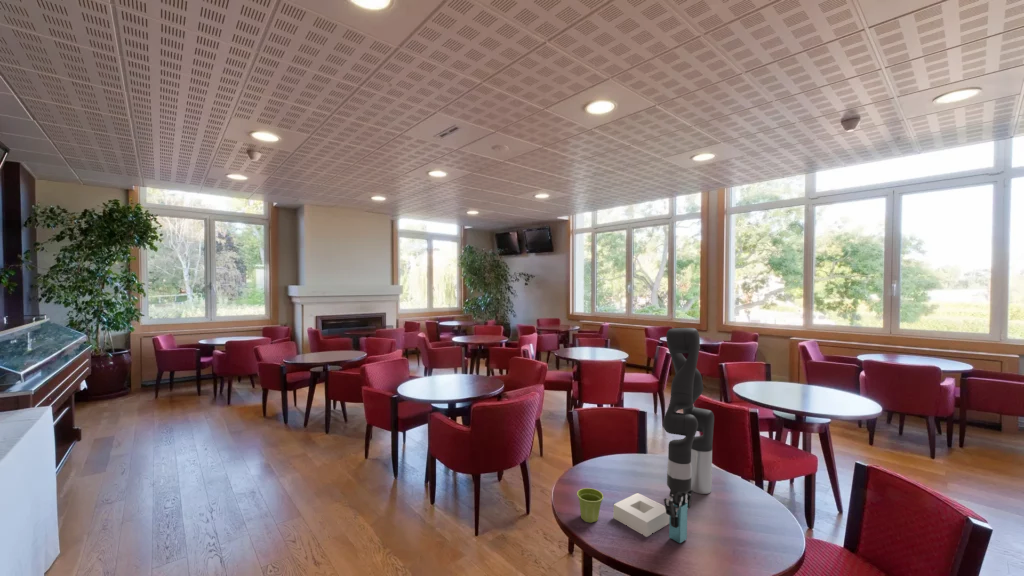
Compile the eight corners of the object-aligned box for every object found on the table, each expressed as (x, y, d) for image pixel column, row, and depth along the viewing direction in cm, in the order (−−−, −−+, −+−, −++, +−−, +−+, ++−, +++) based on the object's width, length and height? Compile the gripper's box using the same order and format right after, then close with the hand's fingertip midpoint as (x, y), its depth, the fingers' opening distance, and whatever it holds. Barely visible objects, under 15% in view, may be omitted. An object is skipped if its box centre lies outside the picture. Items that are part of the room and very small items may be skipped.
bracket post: (675, 533, 144) (676, 498, 144) (686, 538, 141) (687, 503, 141) (669, 537, 142) (669, 501, 141) (680, 543, 139) (680, 507, 138)
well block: (637, 505, 162) (637, 492, 162) (670, 522, 151) (670, 508, 151) (613, 518, 154) (613, 504, 154) (646, 537, 143) (647, 522, 142)
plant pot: (604, 514, 156) (604, 490, 156) (601, 528, 147) (601, 503, 147) (579, 509, 159) (579, 486, 159) (574, 522, 150) (574, 498, 150)
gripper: (680, 463, 148) (679, 512, 149) (656, 474, 139) (655, 526, 140) (701, 471, 142) (700, 522, 143) (677, 483, 133) (676, 537, 134)
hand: (678, 524), depth 141 cm, fingers closed on bracket post, 4 cm apart
